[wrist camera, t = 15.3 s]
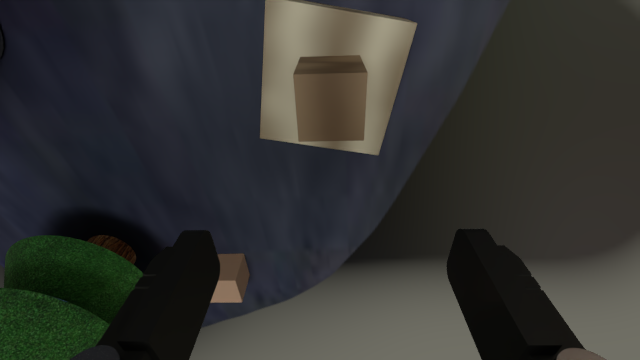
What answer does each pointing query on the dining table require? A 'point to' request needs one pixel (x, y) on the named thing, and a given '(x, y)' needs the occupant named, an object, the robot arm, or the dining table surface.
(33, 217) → the dining table surface
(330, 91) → the walnut block
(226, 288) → the tan cube
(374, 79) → the birch block
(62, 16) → the dining table surface
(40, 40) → the dining table surface
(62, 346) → the decorative tree
